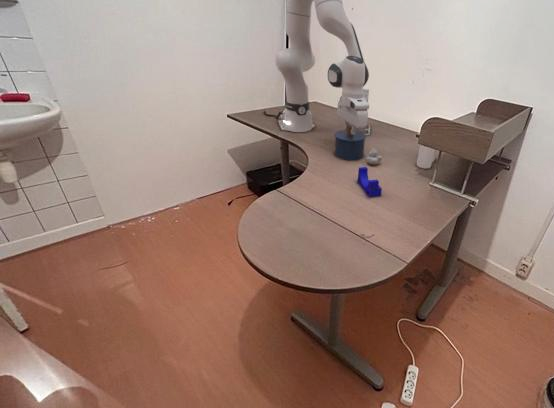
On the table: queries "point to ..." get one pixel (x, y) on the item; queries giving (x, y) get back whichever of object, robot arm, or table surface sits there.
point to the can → (425, 157)
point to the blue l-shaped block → (368, 183)
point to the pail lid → (349, 135)
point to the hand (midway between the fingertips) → (350, 132)
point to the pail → (349, 149)
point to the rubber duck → (373, 157)
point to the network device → (365, 95)
